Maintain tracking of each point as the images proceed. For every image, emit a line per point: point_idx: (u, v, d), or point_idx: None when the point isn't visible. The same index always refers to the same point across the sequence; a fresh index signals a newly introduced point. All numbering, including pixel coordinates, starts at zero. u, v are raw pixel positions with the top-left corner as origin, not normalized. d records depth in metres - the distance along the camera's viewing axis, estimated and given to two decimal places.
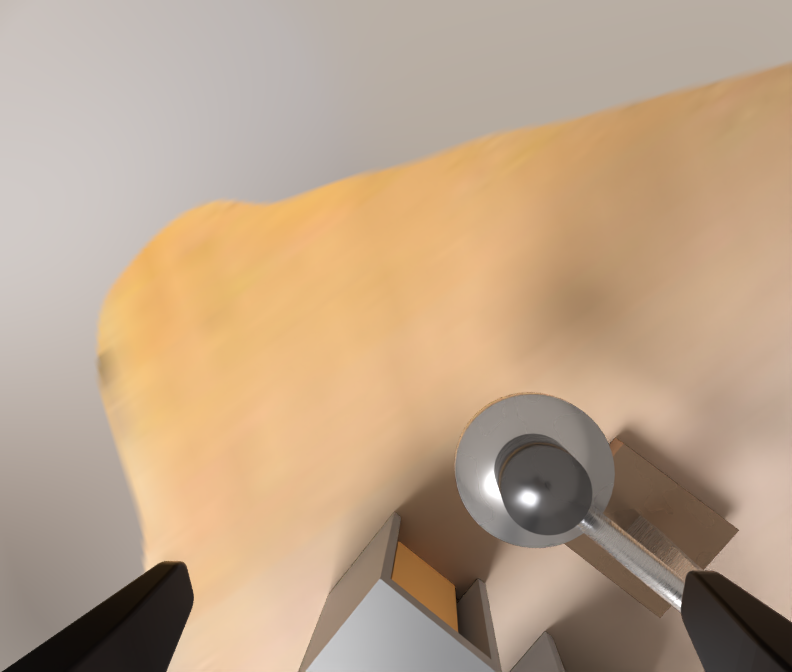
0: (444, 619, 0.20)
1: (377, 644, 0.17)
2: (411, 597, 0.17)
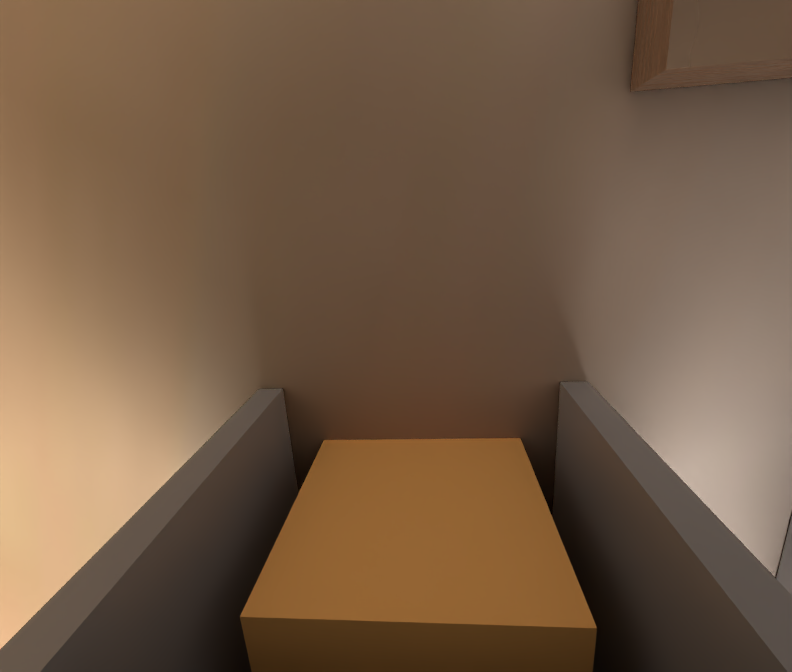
0: (509, 579, 0.05)
1: None
2: None
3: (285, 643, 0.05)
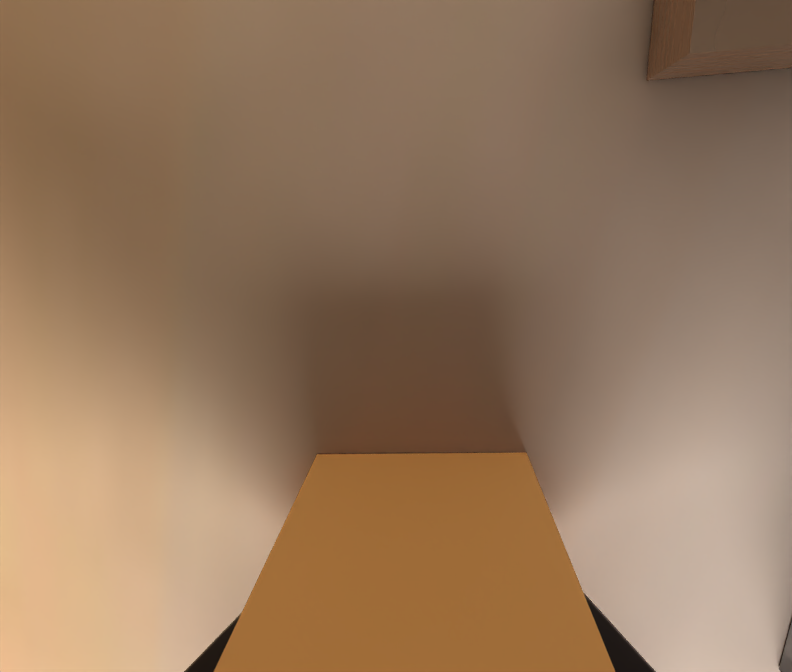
0: (519, 627, 0.04)
1: None
2: None
3: None
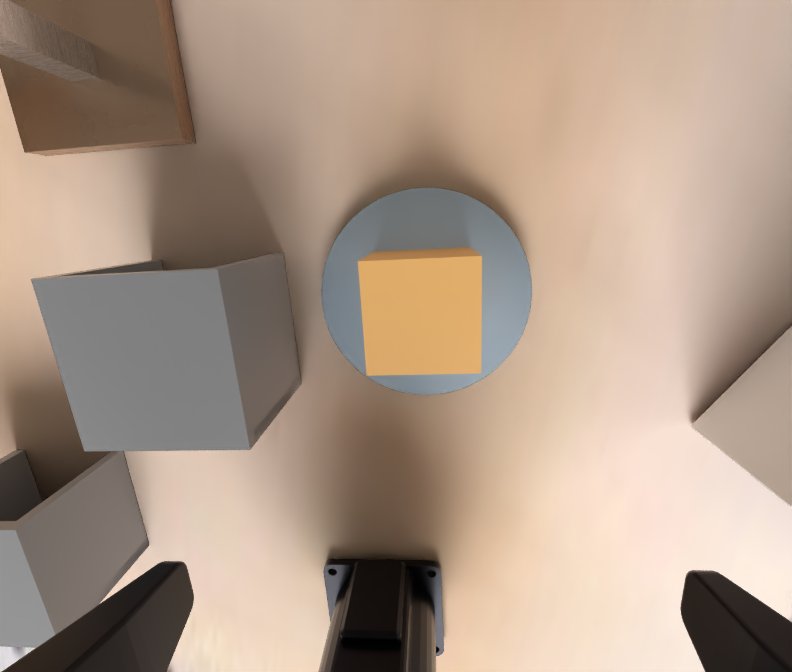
0: (455, 255, 0.14)
1: None
2: None
3: (373, 272, 0.13)
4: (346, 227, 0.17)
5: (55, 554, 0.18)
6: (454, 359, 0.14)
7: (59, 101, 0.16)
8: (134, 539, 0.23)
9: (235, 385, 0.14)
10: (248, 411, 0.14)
